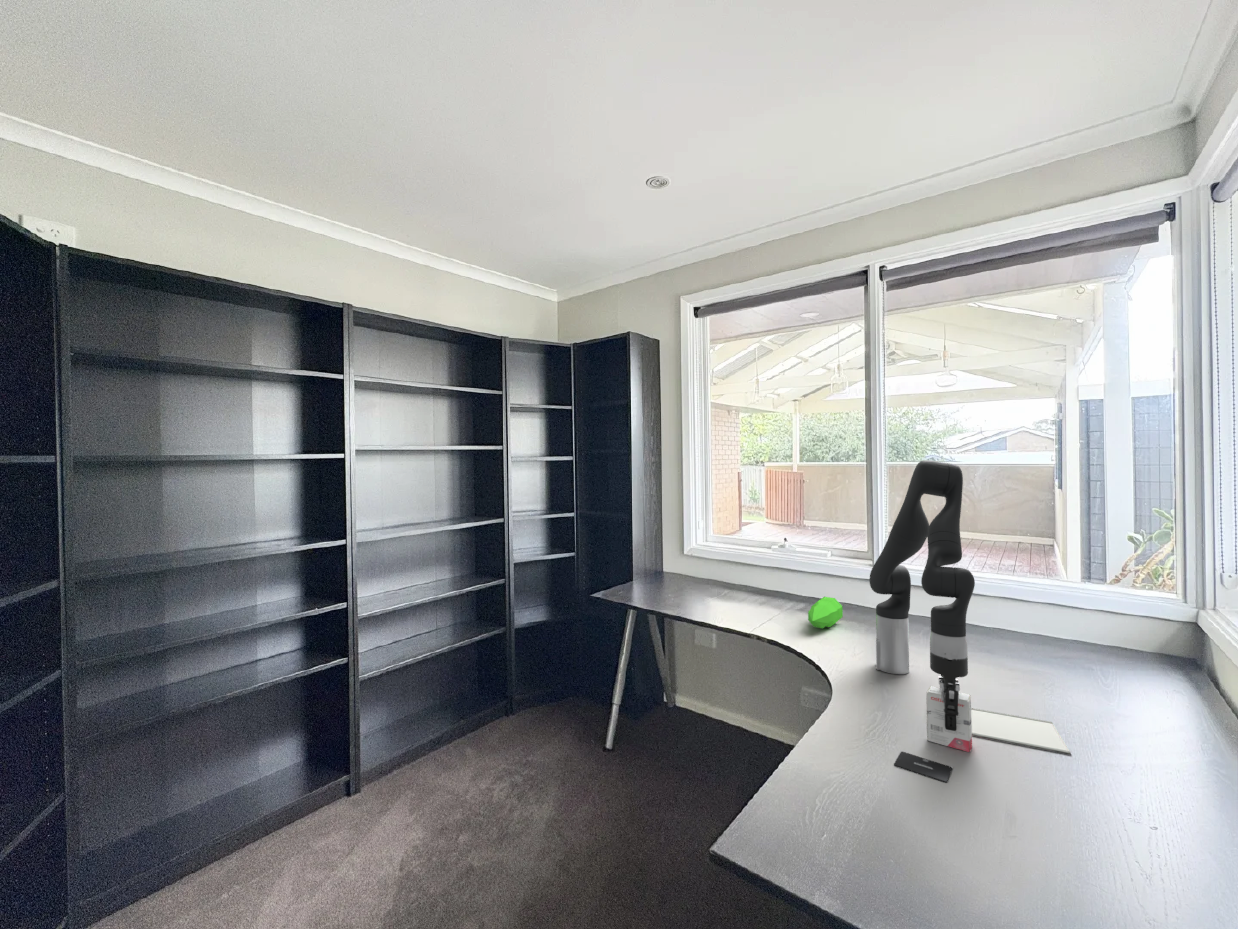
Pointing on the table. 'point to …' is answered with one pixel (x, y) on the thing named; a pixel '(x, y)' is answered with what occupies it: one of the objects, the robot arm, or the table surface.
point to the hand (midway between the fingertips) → (949, 723)
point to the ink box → (937, 721)
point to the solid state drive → (923, 767)
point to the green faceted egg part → (825, 612)
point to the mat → (1017, 730)
